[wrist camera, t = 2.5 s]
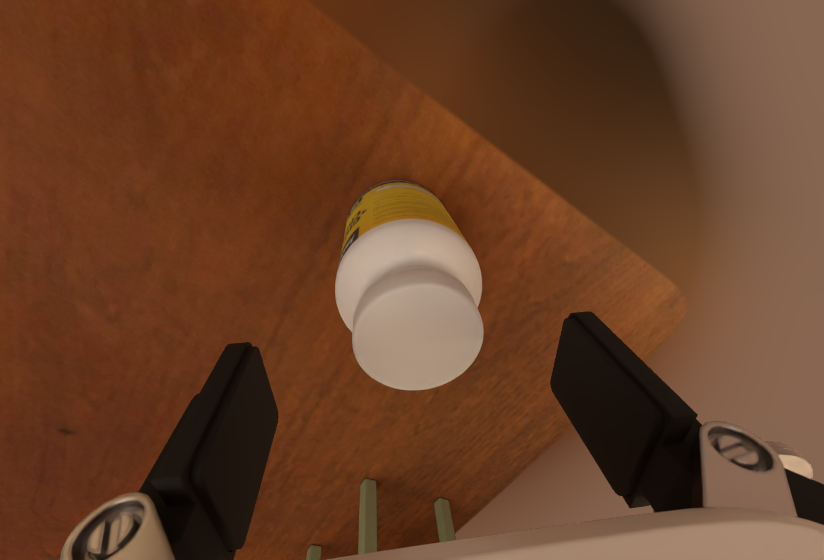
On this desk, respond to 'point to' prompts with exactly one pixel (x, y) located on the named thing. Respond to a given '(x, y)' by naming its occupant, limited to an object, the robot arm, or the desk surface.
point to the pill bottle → (408, 288)
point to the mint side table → (370, 522)
